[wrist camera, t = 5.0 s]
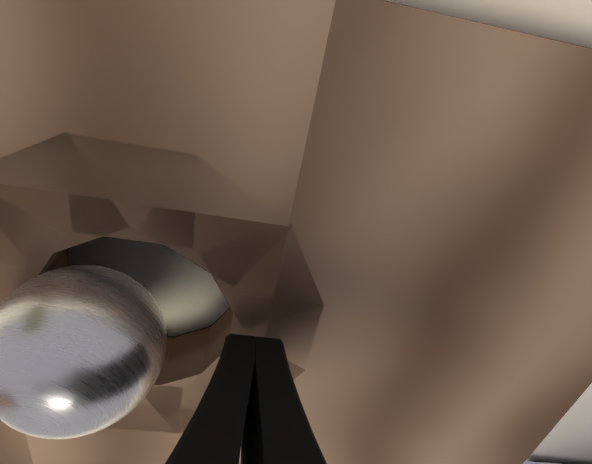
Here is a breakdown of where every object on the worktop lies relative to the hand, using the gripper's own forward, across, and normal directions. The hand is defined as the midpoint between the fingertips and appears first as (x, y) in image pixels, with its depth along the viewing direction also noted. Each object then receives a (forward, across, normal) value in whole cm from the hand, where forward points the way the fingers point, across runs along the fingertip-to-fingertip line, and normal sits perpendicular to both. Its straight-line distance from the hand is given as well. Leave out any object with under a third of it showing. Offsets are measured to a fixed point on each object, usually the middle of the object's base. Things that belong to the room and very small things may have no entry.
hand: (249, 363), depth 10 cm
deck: (+3, -1, 0) cm, 3 cm away
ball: (0, +4, 0) cm, 4 cm away
